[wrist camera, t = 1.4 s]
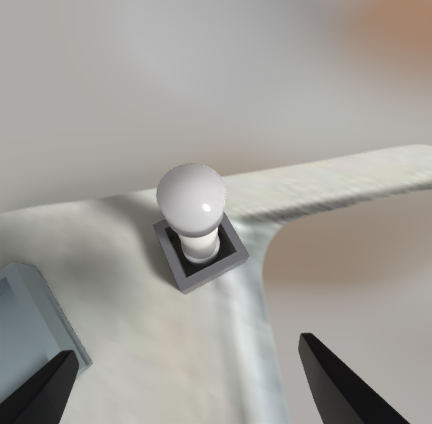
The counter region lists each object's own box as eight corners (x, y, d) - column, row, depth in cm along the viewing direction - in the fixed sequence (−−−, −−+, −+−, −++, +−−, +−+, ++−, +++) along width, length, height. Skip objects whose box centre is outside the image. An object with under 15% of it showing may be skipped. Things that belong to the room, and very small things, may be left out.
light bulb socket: (244, 262, 23) (249, 255, 20) (185, 294, 22) (180, 292, 19) (214, 210, 26) (215, 197, 23) (160, 235, 24) (152, 225, 21)
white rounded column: (225, 256, 24) (238, 205, 12) (192, 273, 23) (172, 236, 11) (209, 226, 25) (206, 154, 13) (178, 241, 24) (146, 178, 12)
